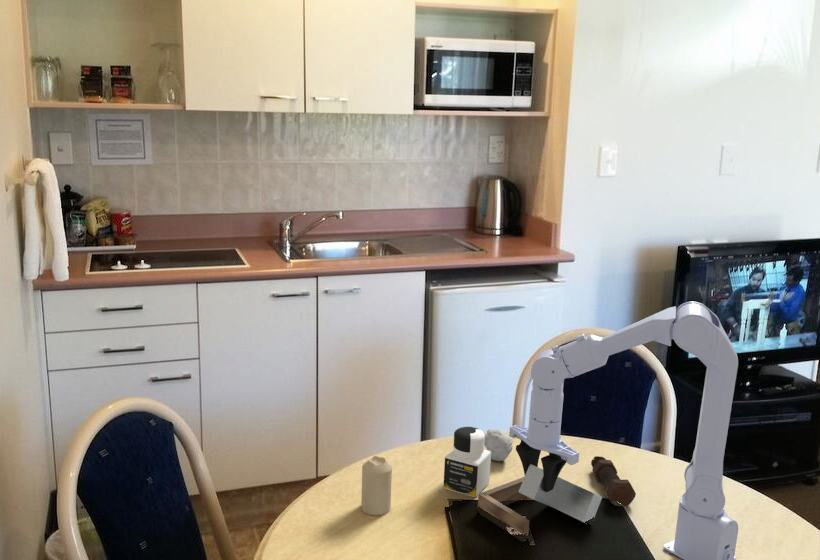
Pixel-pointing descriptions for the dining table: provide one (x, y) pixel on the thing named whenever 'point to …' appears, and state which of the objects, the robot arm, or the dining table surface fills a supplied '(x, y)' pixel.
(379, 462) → the candle
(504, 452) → the grey rock
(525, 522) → the corner jig
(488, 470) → the medicine bottle
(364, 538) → the dining table surface
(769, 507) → the dining table surface
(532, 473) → the bracket
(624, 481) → the bolt
